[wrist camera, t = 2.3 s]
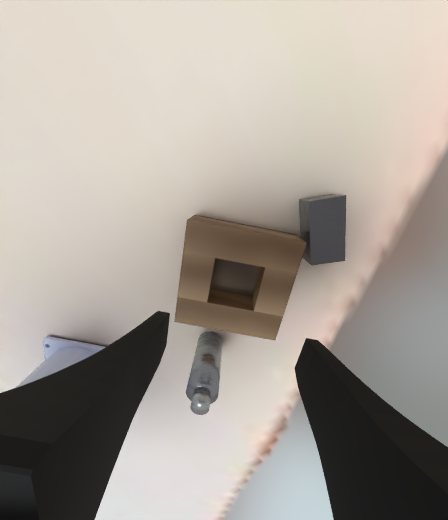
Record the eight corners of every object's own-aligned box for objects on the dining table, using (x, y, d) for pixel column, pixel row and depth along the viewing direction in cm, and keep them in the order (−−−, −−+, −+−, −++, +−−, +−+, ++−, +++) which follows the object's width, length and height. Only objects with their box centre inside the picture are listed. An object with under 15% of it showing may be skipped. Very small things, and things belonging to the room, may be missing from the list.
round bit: (220, 353, 23) (214, 422, 16) (196, 349, 23) (180, 416, 16) (224, 334, 22) (219, 398, 15) (200, 329, 22) (184, 392, 15)
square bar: (330, 251, 19) (344, 260, 16) (301, 255, 19) (311, 265, 17) (330, 194, 17) (346, 195, 15) (298, 199, 18) (308, 201, 15)
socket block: (269, 320, 21) (275, 340, 18) (182, 303, 21) (174, 321, 18) (295, 234, 18) (306, 242, 15) (194, 215, 18) (187, 219, 15)
